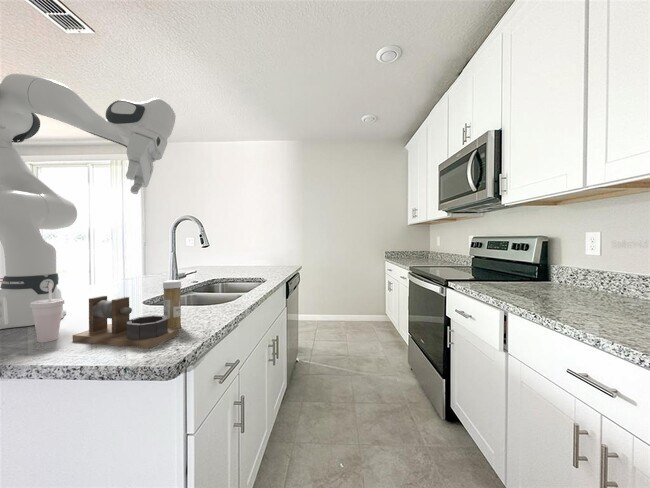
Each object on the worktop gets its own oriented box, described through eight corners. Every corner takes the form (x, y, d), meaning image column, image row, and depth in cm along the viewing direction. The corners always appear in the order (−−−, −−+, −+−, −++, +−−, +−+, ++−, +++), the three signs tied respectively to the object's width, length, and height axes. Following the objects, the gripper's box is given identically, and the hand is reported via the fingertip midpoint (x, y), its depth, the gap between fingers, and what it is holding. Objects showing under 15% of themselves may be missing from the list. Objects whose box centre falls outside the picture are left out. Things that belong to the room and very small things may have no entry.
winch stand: (72, 341, 74) (72, 300, 74) (109, 329, 84) (109, 293, 84) (149, 348, 69) (148, 305, 69) (178, 335, 79) (178, 297, 79)
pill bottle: (182, 328, 85) (182, 281, 85) (164, 331, 82) (163, 282, 82) (179, 324, 89) (179, 279, 88) (162, 327, 86) (162, 280, 86)
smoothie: (71, 337, 77) (70, 282, 77) (40, 345, 71) (39, 286, 71) (54, 334, 79) (54, 281, 79) (23, 342, 73) (23, 284, 73)
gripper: (139, 160, 99) (124, 197, 94) (132, 121, 81) (112, 164, 76) (160, 167, 101) (146, 203, 96) (157, 131, 84) (140, 173, 79)
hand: (131, 186), depth 86 cm, fingers open, 8 cm apart
